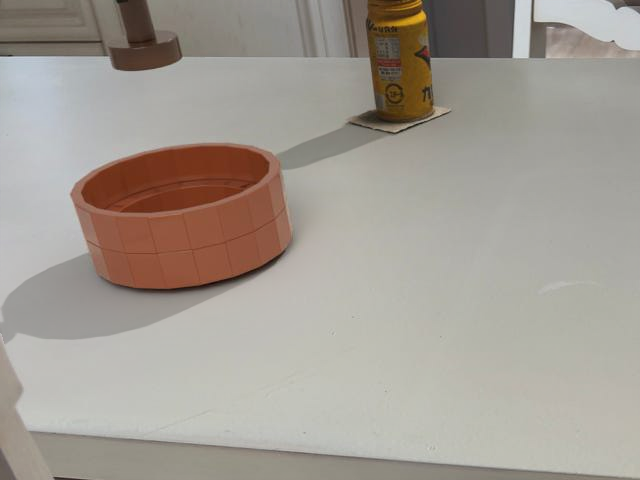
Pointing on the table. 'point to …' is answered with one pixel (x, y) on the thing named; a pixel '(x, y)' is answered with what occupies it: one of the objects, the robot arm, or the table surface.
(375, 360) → the table surface
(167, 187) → the bowl
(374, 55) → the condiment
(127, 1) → the robot arm
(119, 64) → the stick
